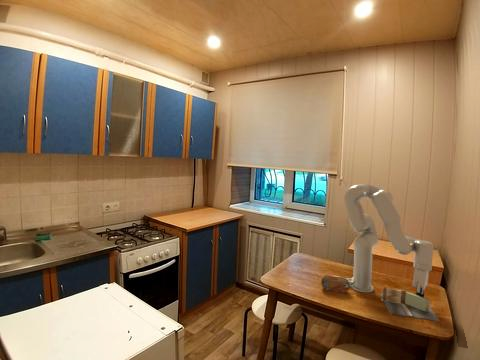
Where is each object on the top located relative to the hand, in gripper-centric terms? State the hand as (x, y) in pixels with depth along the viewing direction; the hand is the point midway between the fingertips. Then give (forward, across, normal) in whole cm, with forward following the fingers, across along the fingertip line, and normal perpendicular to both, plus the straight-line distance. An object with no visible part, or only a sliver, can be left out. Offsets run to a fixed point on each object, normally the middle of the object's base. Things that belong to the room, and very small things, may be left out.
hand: (419, 300), depth 135 cm
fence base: (+4, +4, -5) cm, 7 cm away
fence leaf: (+3, +3, 0) cm, 4 cm away
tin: (+4, +14, -38) cm, 40 cm away
